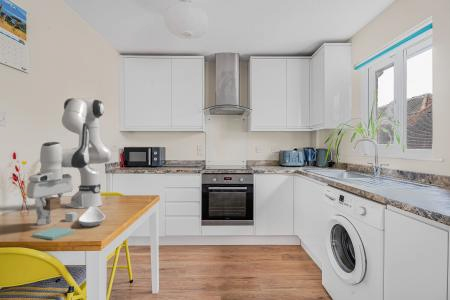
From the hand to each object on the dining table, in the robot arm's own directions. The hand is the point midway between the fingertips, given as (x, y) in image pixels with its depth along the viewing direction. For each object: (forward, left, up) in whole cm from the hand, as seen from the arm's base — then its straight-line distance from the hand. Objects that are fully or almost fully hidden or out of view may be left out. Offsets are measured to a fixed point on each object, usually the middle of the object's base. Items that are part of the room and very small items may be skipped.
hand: (51, 204), depth 122 cm
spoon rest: (+11, +13, -12) cm, 21 cm away
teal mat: (+11, -7, -11) cm, 17 cm away
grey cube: (-2, +12, -11) cm, 16 cm away
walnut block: (0, 0, -2) cm, 2 cm away
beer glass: (-10, +3, -11) cm, 15 cm away
